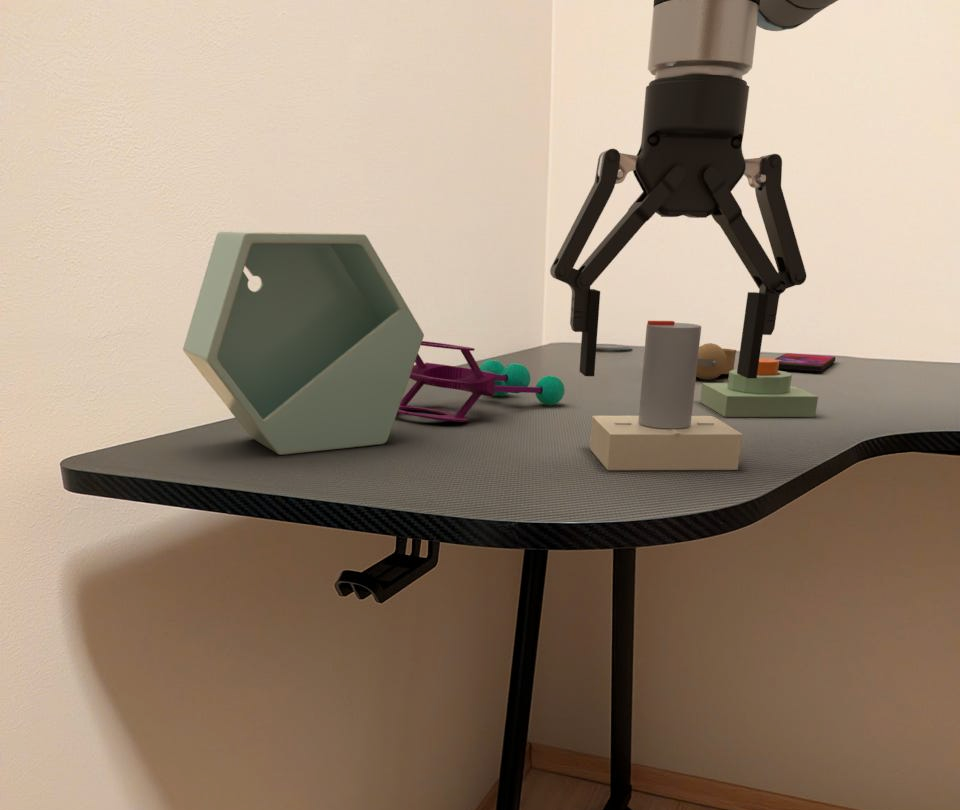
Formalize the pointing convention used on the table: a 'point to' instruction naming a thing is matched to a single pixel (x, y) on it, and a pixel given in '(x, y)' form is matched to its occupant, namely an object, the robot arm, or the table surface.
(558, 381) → the purple framed piece
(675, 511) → the table surface
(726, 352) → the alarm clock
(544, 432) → the table surface
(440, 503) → the table surface
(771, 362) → the button
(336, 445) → the planter
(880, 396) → the table surface
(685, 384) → the cylinder
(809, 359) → the smartphone
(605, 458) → the dial panel
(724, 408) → the button block
